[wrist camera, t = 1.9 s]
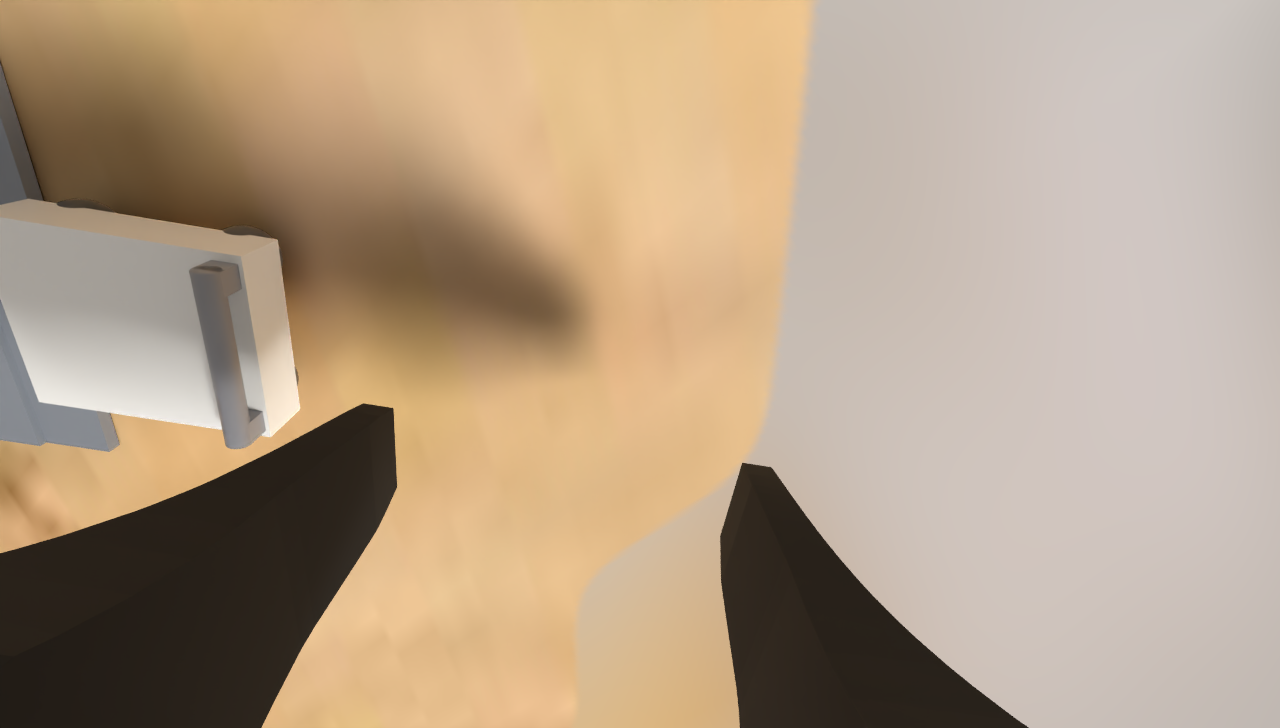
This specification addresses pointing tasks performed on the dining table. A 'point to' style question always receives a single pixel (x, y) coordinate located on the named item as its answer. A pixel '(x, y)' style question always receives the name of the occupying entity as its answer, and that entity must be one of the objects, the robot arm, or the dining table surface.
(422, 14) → the dining table surface
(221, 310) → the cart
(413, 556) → the dining table surface
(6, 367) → the dock
